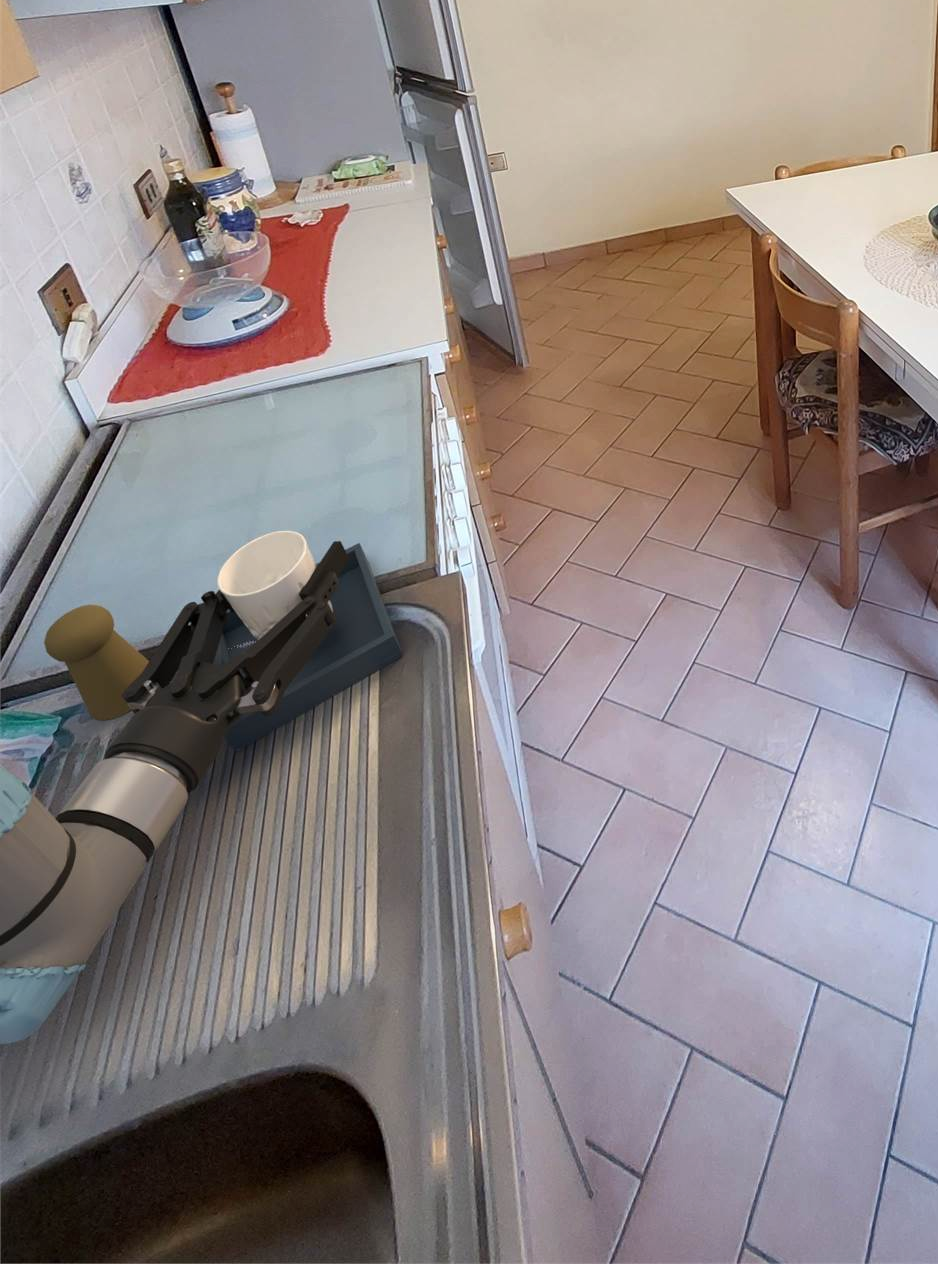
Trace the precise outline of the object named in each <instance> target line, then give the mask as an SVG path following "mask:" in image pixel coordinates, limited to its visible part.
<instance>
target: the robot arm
mask: <svg viewBox="0 0 938 1264" xmlns="http://www.w3.org/2000/svg"><path fill="white" fill-rule="evenodd" d="M345 550H346V549H345V547H344V544H343V543H342V541H341V540H334V541H333V542H332V543H331V545H330V546H329V548H328V549H327V551H326V552H325V554H324V555H323V557H322V559H321V560H320V561H319V562H320V563H319V562H318V563H319V565H318V566H317V568H316V569H315V571H314V572H313V574H312V575H311V577H310V579H309V580H308V582H307V583H306V584H305V586H304V587H303V588H302V590H301V591H300V593H299V596H300V597H301V599H302V601H301V602H300V603H299V604H298V605H297V606H296V607H294V608H293V609H292V610H291V611H290V612H289V613H288V614H287V615H286V616H285V617H283V618H282V619H281V620H280V621H279V622H278V623H277V624H276V625H275V626H273V627H272V628H271V629H270V630H269V631H268V632H267V633H266V634H265V635H264V636H262V637H261V638H260V639H259V640H258V641H257V642H256V643H255V644H254V645H252V646H251V647H250V648H249V649H248V650H247V651H246V652H240V653H238V654H236V655H235V656H234V657H233V658H232V659H231V660H230V661H229V662H227V663H224V664H219V665H213V662H214V659H215V656H216V652H217V649H218V646H219V642H220V639H221V636H222V632H223V629H224V626H225V622H226V619H227V616H228V613H227V612H226V611H227V610H228V609H229V610H230V611H231V612H235V610H234V609H233V608H232V606H231V605H230V603H229V602H228V600H227V599H226V598H225V596H224V595H223V593H222V592H221V591H220V589H219V588H218V590H217V592H215V591H214V590H209V591H206V592H204V593H203V594H202V595H201V597H200V599H201V601H202V602H201V603H197V602H196V601H190V602H188V603H186V604H185V605H184V606H183V608H182V609H181V610H180V612H179V614H178V615H177V617H176V618H175V620H174V621H173V623H172V625H171V627H170V628H169V629H168V631H167V632H166V634H165V636H164V637H163V639H162V640H161V642H160V643H159V645H158V647H157V648H156V650H155V652H154V653H153V654H152V656H151V658H150V659H149V660H148V661H149V662H148V664H147V666H146V667H145V669H144V670H143V672H142V673H141V674H140V675H139V676H138V677H137V678H136V679H135V680H134V681H133V682H132V683H131V684H130V685H129V686H128V687H127V688H126V690H125V691H124V692H123V693H122V698H123V699H124V700H125V702H126V703H127V704H128V706H129V707H130V708H131V709H132V710H131V711H132V713H133V715H132V716H131V718H130V719H129V720H128V721H127V723H126V724H125V725H124V727H123V728H122V729H121V731H120V732H119V734H118V735H117V736H116V737H115V738H114V740H113V741H112V743H111V744H110V745H109V747H108V748H107V749H106V751H105V753H104V759H102V760H100V761H98V762H96V763H95V764H94V765H93V767H92V768H91V770H90V771H89V772H88V774H87V775H86V776H85V778H84V779H83V780H82V782H81V783H80V784H79V786H78V787H77V788H76V790H75V791H74V793H73V794H72V795H71V796H70V798H69V799H68V801H67V802H66V803H65V805H64V806H63V807H62V808H61V810H60V811H59V813H58V814H57V815H56V817H54V816H53V814H51V812H50V811H49V810H48V809H47V808H46V807H45V805H43V803H42V802H41V801H40V800H39V799H38V798H37V797H36V796H35V794H34V793H33V792H32V790H31V788H30V787H29V785H28V784H27V783H26V782H24V781H22V780H21V779H20V778H18V777H17V776H15V775H14V774H13V773H12V772H11V771H10V770H8V769H7V768H6V767H4V766H3V764H1V763H0V1045H8V1044H13V1043H14V1044H15V1043H17V1042H21V1041H23V1040H26V1039H27V1038H29V1037H30V1036H32V1035H33V1034H34V1033H36V1032H37V1031H38V1030H39V1029H40V1028H41V1027H42V1025H43V1024H44V1023H45V1022H46V1020H47V1019H48V1018H49V1016H50V1014H51V1013H52V1012H53V1010H54V1009H55V1008H56V1006H57V1005H58V1004H59V1002H60V1001H61V999H62V998H63V996H64V995H65V993H66V992H67V990H68V989H69V988H70V986H71V985H72V983H73V982H74V981H75V979H76V978H77V976H78V975H79V973H81V972H82V971H84V969H85V967H86V966H87V963H86V962H87V961H88V960H89V958H90V956H91V954H92V953H93V952H94V950H95V948H96V947H97V945H98V943H99V942H100V940H101V938H102V937H103V935H104V934H105V932H106V930H107V929H108V927H109V926H110V924H111V922H112V921H113V919H114V918H115V917H116V915H117V913H118V912H119V911H120V908H121V907H122V905H123V904H124V902H125V901H126V899H127V898H128V895H129V894H130V892H131V891H132V890H133V888H134V886H135V885H136V883H137V881H138V880H139V878H140V877H141V875H142V873H143V872H144V870H145V869H146V867H147V865H148V864H149V862H150V860H151V859H152V857H153V855H154V854H155V853H156V851H157V850H158V848H159V847H160V845H161V843H162V842H163V841H164V839H165V837H167V834H168V833H169V831H170V830H171V828H172V826H173V825H174V824H175V822H176V820H177V819H178V817H179V815H180V814H181V812H182V811H183V809H184V808H185V806H186V804H187V802H188V799H189V795H188V794H191V793H192V792H193V791H195V790H196V789H197V788H198V786H199V784H200V783H201V782H202V780H203V779H204V777H205V775H206V773H207V772H208V771H209V769H210V768H211V767H212V764H213V763H214V761H215V760H216V758H217V756H218V755H219V753H220V752H221V749H222V745H223V741H224V738H225V737H224V735H225V733H226V731H227V730H228V729H229V727H230V726H231V725H232V724H233V723H235V722H236V721H237V720H238V719H239V718H240V717H241V716H242V715H243V713H249V712H254V711H261V712H262V714H263V715H264V716H265V717H268V716H271V715H272V714H274V713H275V712H276V710H277V709H278V706H279V704H280V701H281V699H282V697H283V694H284V692H285V690H286V689H287V687H288V686H289V685H290V683H291V682H292V681H293V679H294V678H295V677H296V676H297V674H298V673H299V672H300V670H301V669H302V668H303V666H304V665H305V664H306V662H307V661H308V660H309V658H310V657H311V656H312V654H313V653H314V652H315V651H316V649H317V648H318V647H319V645H320V644H321V643H322V641H323V640H324V639H325V637H326V636H327V635H328V633H329V632H330V631H331V629H332V628H333V627H334V625H335V624H336V622H337V619H336V617H335V615H334V613H333V612H332V610H331V608H330V606H329V604H328V601H329V600H330V598H331V597H332V595H333V593H334V592H335V590H336V589H337V587H338V585H339V580H338V577H339V575H340V573H341V572H342V570H343V569H344V567H345V565H346V564H347V562H348V561H349V557H348V555H347V553H346V551H345ZM306 614H307V617H306ZM239 669H242V671H243V672H244V674H245V679H244V677H243V676H242V674H241V673H240V671H239Z"/></svg>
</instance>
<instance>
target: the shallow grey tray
mask: <svg viewBox="0 0 938 1264" xmlns="http://www.w3.org/2000/svg"><path fill="white" fill-rule="evenodd" d="M345 551H346V553H347V555H348V557H349V561H348V562H347V564H346V565H345V567H344V569H343V570H342V572H341V573H340V575H339V577H338V580H339V585H338V587H337V589H336V590H335V592H334V593H333V595H332V597H331V598H330V602H331V605H332V609H333V613H334V615H335V617H336V619H337V622H336V624H335V625H334V627H333V628H332V629H331V631H330V632H329V633H328V635H327V636H326V637H325V639H324V640H323V641H322V643H321V644H320V645H319V647H318V648H317V649H316V651H315V652H314V653H313V654H312V656H311V657H310V658H309V660H308V661H307V662H306V664H305V665H304V666H303V668H302V669H301V670H300V672H299V673H298V674H297V676H296V677H295V678H294V679H293V681H292V682H291V683H290V685H289V686H288V687H287V689H286V690H285V692H284V694H283V697H282V699H281V701H280V704H279V706H278V709H277V710H276V712H275V713H274V714H272V715H271V716H268V717H265V716H264V715H263V714H262V712H261V711H254V712H249V713H243V715H242V716H241V717H240V718H239V719H238V720H237V721H236V722H235V723H233V724H232V725H231V726H230V727H229V729H228V730H227V731H226V733H225V735H224V738H225V740H226V741H227V743H228V744H229V746H230V747H231V748H232V750H233V752H234V753H236V752H238V751H240V750H242V749H244V748H246V747H247V746H248V744H249V745H251V744H253V743H254V742H256V741H257V740H259V739H261V738H263V737H264V736H266V735H269V734H270V733H272V732H273V731H275V730H277V729H279V728H280V727H282V726H284V725H285V724H288V723H289V722H290V721H293V720H294V719H296V718H298V717H300V716H301V715H303V714H305V713H307V712H308V711H310V710H311V709H312V710H313V708H315V707H317V706H318V705H320V704H322V703H324V702H325V701H328V700H329V699H331V698H332V697H335V696H336V695H338V694H340V693H342V692H343V691H345V690H347V689H349V688H350V687H353V685H355V684H357V683H359V682H361V681H362V680H364V679H366V678H367V677H370V676H371V675H373V674H374V673H376V672H378V671H380V670H381V669H384V668H385V667H387V666H389V665H390V664H392V663H394V662H395V661H397V660H399V659H401V658H402V657H404V653H403V650H402V647H401V645H400V643H399V640H398V637H397V634H396V631H395V629H394V626H393V624H392V621H391V618H390V616H389V613H388V610H387V608H385V607H386V605H385V603H384V602H385V601H384V599H383V597H382V595H381V594H382V593H381V591H380V588H379V585H378V583H377V581H376V579H375V575H374V572H373V570H372V567H371V564H370V562H369V559H368V557H367V555H366V553H365V551H364V549H363V547H362V545H361V543H360V542H358V543H356V544H354V545H352V546H350V547H348V548H346V549H345ZM320 562H321V561H319V562H318V563H316V566H318V565H319V563H320ZM226 612H227V613H228V616H227V619H226V622H225V626H224V629H223V632H222V636H221V639H220V642H219V646H218V649H217V652H216V656H215V659H214V662H213V665H219V664H224V663H227V662H229V661H230V660H231V659H232V658H233V657H234V656H235V655H236V654H238V653H240V652H246V651H247V650H248V649H249V648H250V647H251V646H252V643H251V645H250V646H249V645H248V646H247V648H246V646H245V648H243V647H241V648H240V647H239V646H240V644H241V645H242V646H243V643H246V642H248V643H249V641H251V642H252V641H254V644H255V641H256V642H257V641H258V640H257V638H255V637H254V636H253V635H252V633H251V632H250V631H249V629H248V628H247V627H246V625H245V624H244V623H243V621H242V620H241V619H240V618H239V616H238V615H237V613H236V612H231V611H230V610H229V609H228V610H227V611H226ZM254 644H253V645H254ZM237 645H239V646H238V648H237ZM234 646H235V647H234ZM228 648H229V649H228ZM231 648H232V649H231ZM239 671H240V673H241V674H242V676H243V677H244V679H245V674H244V672H243V671H242V669H239ZM241 748H242V749H241ZM239 749H240V750H239ZM237 750H238V751H237Z"/></svg>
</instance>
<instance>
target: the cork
mask: <svg viewBox="0 0 938 1264" xmlns="http://www.w3.org/2000/svg"><path fill="white" fill-rule="evenodd" d="M114 628H115V621H114V618H113V615H112V614H111V612H110V610H108V609H107V608H105V607H103V606H102V605H97V604H86V605H81V606H78V607H76V608H73V609H71V610H70V611H68V612H66V613H63V615H62V616H60V617H58V619H56V620H55V621H54V622H53V623H52V625H50V626H49V628H48V630H47V631H46V634H45V637H44V640H43V641H44V642H43V644H44V647H45V648H44V649H45V651H46V653H47V655H48V656H50V658H52V659H53V660H56V661H58V662H59V663H65V665H66V667H67V670H68V672H69V674H70V676H71V679H72V680H73V682H74V685H75V686H76V689H77V691H78V692H79V695H80V697H81V699H82V701H83V703H84V705H85V707H86V709H87V711H88V714H89V715H90V717H91V718H93V719H94V720H96V721H108V720H113V719H116V718H119V717H121V716H123V715H126V714H127V713H129V712H130V711H132V709H131V708H130V707H129V706H128V704H127V703H126V702H125V700H124V699H123V698H122V693H123V692H124V691H125V690H126V688H127V687H128V686H129V685H130V684H131V683H132V682H133V681H134V680H135V679H136V678H137V677H138V676H139V675H140V674H141V673H142V672H143V670H144V669H145V667H146V666H147V664H148V662H149V661H150V660H148V659H147V658H146V657H145V656H144V655H143V654H142V653H140V651H138V650H137V649H136V648H135V647H134V646H133V645H132V644H131V643H129V641H127V639H125V638H124V637H122V635H120V634H119V633H118V632H117V631H116V630H115V629H114Z"/></svg>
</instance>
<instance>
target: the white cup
mask: <svg viewBox="0 0 938 1264" xmlns="http://www.w3.org/2000/svg"><path fill="white" fill-rule="evenodd" d="M316 564H317V563H316V561H315V559H314V556H313V554H312V552H311V550H310V547H309V545H308V542H307V540H306V538H305V537H304V536H303V535H302V534H301V533H299V532H298V531H294V530H278V531H273V532H269V533H267V534H263V535H261V536H258V537H256V538H255V539H253V540H250V541H249V542H247V543H246V544H244V545H242V546H241V547H240V548H238V549H237V550H236V551H235V552H233V553H232V554H231V555H230V556H229V557H228V559H227V560H225V562H224V564H223V565H222V567H221V568H220V570H219V573H218V574H217V579H216V580H217V581H216V582H217V583H216V584H217V588H218V590H219V589H220V591H221V592H222V593H223V595H224V596H225V598H226V599H227V600H228V602H229V603H230V605H231V606H232V608H233V609H234V610H235V612H236V613H237V615H238V616H239V618H240V619H241V620H242V621H243V623H244V624H245V625H246V627H247V628H248V629H249V631H250V632H251V633H252V635H253V636H254V637H255V638H257V640H259V639H260V638H261V637H262V636H264V635H265V634H266V633H267V632H268V631H269V630H270V629H271V628H272V627H273V626H275V625H276V624H277V623H278V622H279V621H280V620H281V619H282V618H283V617H285V616H286V615H287V614H288V613H289V612H290V611H291V610H292V609H293V608H294V607H296V606H297V605H298V604H299V603H300V602H301V601H302V599H301V597H300V596H299V593H300V591H301V590H302V588H303V587H304V586H305V584H306V583H307V582H308V580H309V579H310V577H311V575H312V574H313V572H314V571H315V569H316V568H317V566H316ZM328 604H329V606H330V608H331V610H332V612H333V609H332V605H331V602H330V600H329V601H328ZM306 617H307V614H306Z"/></svg>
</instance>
